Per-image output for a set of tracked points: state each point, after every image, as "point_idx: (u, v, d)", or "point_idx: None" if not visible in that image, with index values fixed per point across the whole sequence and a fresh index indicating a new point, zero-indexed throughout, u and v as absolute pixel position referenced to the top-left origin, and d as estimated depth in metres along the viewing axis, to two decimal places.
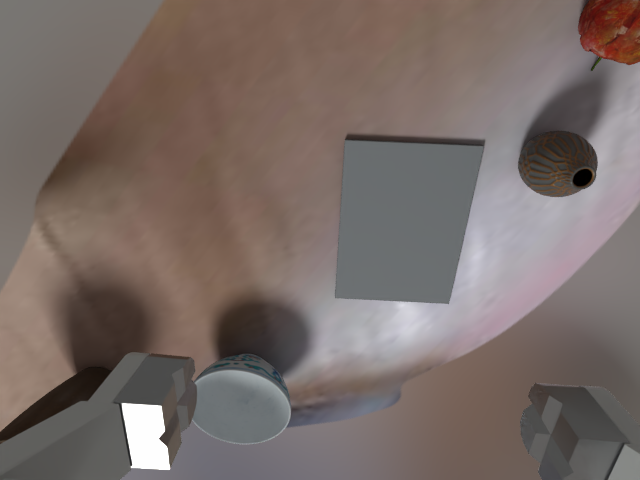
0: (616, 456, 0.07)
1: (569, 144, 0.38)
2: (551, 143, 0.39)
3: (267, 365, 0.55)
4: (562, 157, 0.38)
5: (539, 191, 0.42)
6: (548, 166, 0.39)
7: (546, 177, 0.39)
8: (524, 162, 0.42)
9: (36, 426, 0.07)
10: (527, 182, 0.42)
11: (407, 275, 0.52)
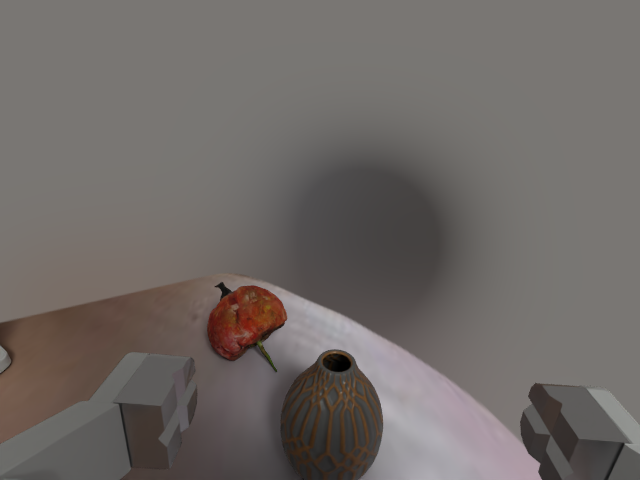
0: (616, 456, 0.07)
1: (298, 376, 0.26)
2: None
3: None
4: (301, 381, 0.25)
5: (345, 446, 0.23)
6: (302, 403, 0.24)
7: (316, 412, 0.23)
8: (292, 450, 0.24)
9: (36, 426, 0.07)
10: (324, 461, 0.23)
11: None
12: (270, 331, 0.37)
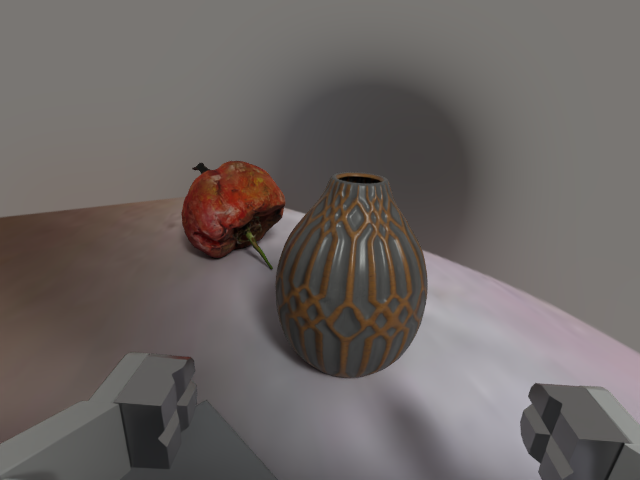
0: (616, 456, 0.07)
1: None
2: None
3: None
4: (306, 215, 0.17)
5: (375, 291, 0.14)
6: (309, 236, 0.15)
7: (330, 242, 0.15)
8: (293, 311, 0.16)
9: (36, 426, 0.07)
10: (343, 317, 0.14)
11: None
12: (264, 225, 0.29)
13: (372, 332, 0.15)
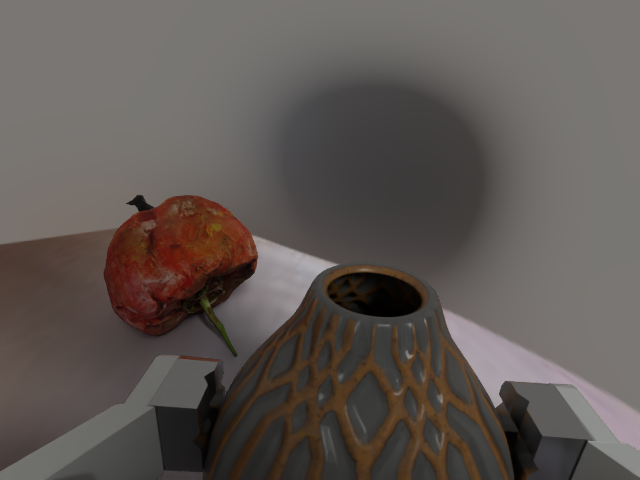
0: (580, 453, 0.07)
1: None
2: None
3: None
4: (260, 358, 0.08)
5: None
6: (259, 430, 0.07)
7: (308, 465, 0.06)
8: None
9: (75, 429, 0.07)
10: None
11: None
12: (229, 284, 0.21)
13: None
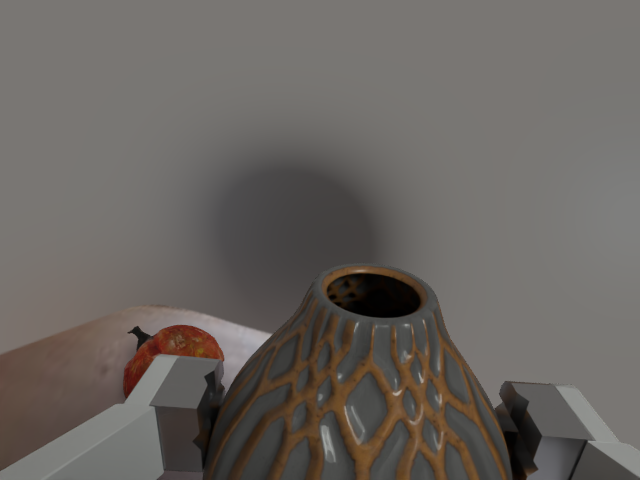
0: (579, 453, 0.07)
1: None
2: None
3: None
4: (260, 358, 0.08)
5: None
6: (259, 430, 0.07)
7: (307, 465, 0.06)
8: None
9: (75, 429, 0.07)
10: None
11: None
12: None
13: None
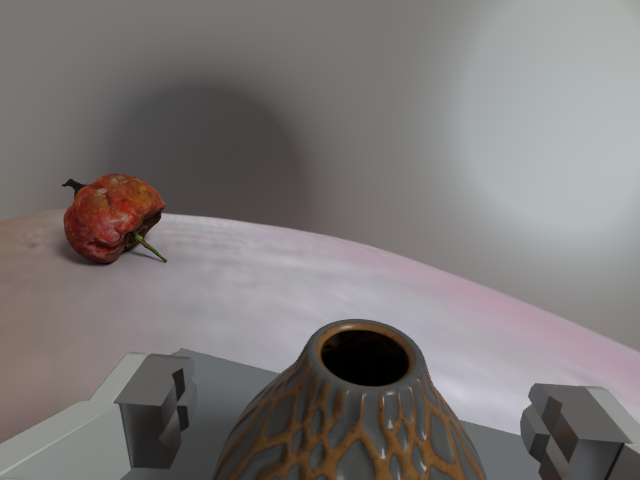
0: (616, 456, 0.07)
1: (258, 393, 0.10)
2: None
3: None
4: (258, 411, 0.08)
5: None
6: None
7: None
8: None
9: (36, 426, 0.07)
10: None
11: None
12: (146, 227, 0.33)
13: None
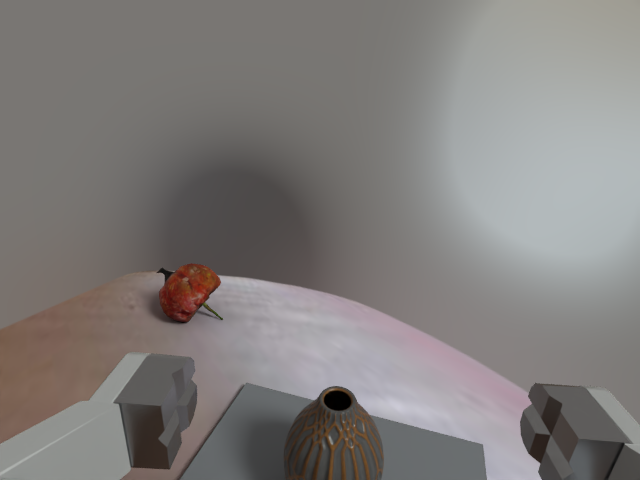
0: (616, 456, 0.07)
1: None
2: (288, 433, 0.26)
3: None
4: (303, 418, 0.25)
5: None
6: (304, 441, 0.24)
7: (318, 450, 0.24)
8: None
9: (36, 426, 0.07)
10: None
11: None
12: None
13: None
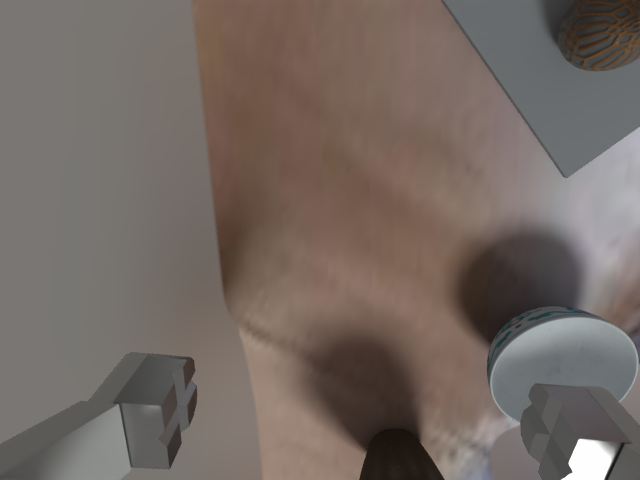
0: (616, 456, 0.07)
1: None
2: None
3: (552, 307, 0.41)
4: (618, 1, 0.28)
5: (598, 64, 0.31)
6: (602, 22, 0.29)
7: (604, 37, 0.29)
8: (567, 35, 0.32)
9: (36, 426, 0.07)
10: (578, 60, 0.32)
11: (637, 78, 0.36)
12: None
13: (584, 68, 0.33)
